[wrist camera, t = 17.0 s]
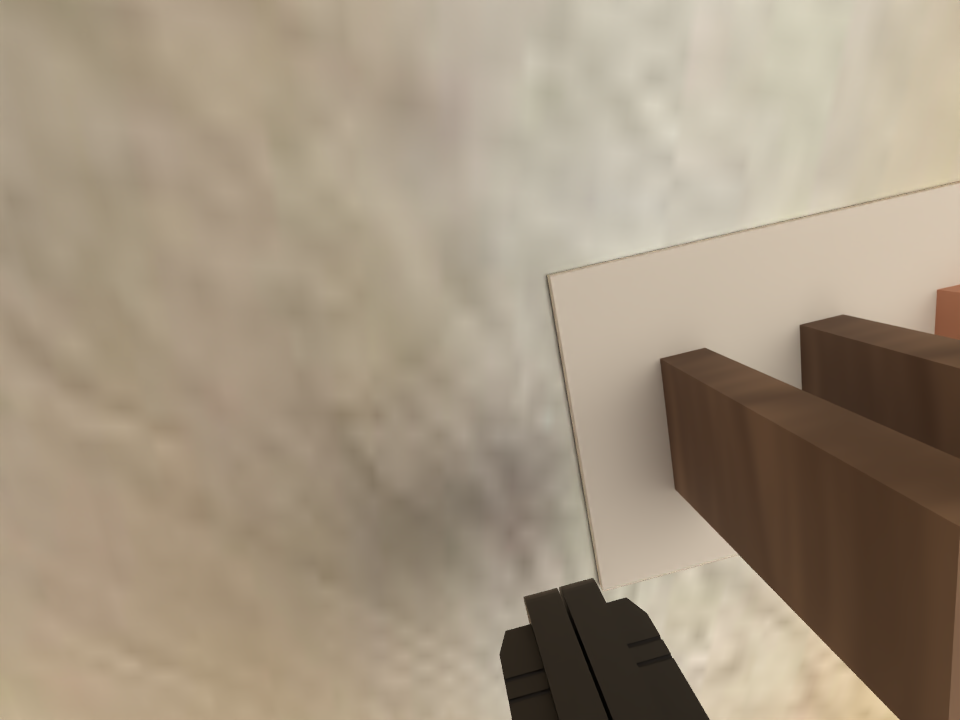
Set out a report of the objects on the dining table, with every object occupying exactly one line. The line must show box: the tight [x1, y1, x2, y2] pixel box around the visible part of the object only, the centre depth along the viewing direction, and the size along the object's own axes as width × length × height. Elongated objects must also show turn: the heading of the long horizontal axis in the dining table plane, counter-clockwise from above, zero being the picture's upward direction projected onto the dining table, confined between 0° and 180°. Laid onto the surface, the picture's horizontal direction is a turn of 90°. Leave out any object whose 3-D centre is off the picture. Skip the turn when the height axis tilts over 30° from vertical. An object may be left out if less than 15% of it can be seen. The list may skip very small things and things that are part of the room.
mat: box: [547, 181, 960, 591], centre depth 19 cm, size 26×12×1 cm, turn 102°
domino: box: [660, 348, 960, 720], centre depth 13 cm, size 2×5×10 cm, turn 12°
